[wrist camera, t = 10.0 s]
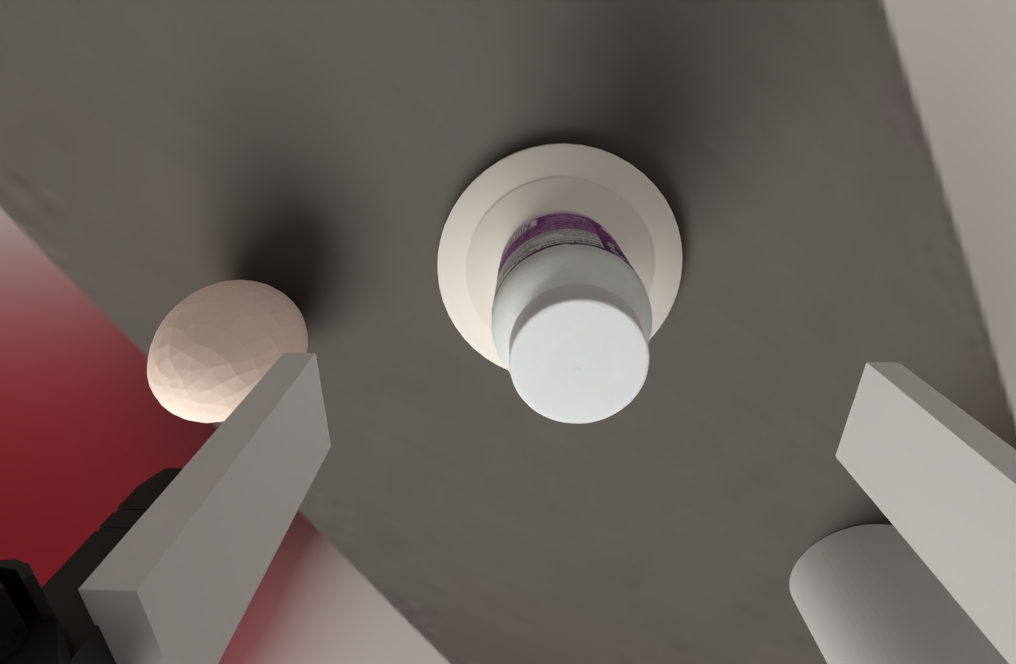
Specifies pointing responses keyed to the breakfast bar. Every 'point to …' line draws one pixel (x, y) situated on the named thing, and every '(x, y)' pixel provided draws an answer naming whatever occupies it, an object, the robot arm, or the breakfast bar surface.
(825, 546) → the white upright cylinder
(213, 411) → the egg
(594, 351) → the pill bottle
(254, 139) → the breakfast bar surface
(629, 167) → the saucer
